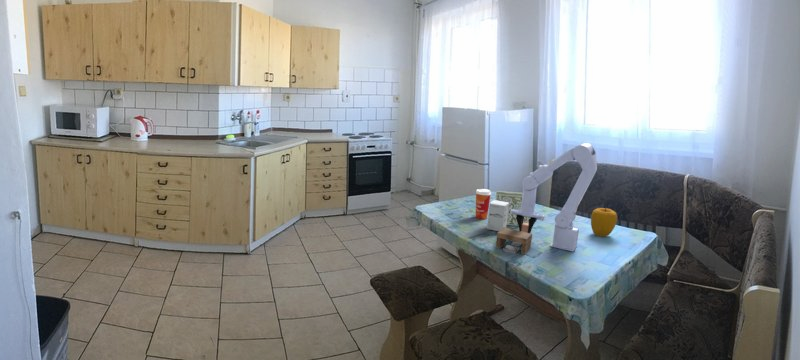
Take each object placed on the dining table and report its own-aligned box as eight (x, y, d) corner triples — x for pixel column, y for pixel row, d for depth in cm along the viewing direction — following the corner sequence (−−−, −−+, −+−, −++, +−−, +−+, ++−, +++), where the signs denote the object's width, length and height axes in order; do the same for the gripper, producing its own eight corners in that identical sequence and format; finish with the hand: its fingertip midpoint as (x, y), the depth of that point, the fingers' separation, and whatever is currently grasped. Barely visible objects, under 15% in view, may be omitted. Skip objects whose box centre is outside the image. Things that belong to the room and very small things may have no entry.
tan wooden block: (529, 236, 200) (530, 223, 198) (516, 248, 185) (517, 235, 183) (522, 235, 201) (524, 222, 200) (509, 247, 186) (510, 233, 185)
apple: (617, 240, 200) (621, 213, 197) (591, 238, 202) (595, 210, 199) (611, 232, 210) (615, 206, 207) (586, 230, 212) (590, 203, 209)
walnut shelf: (530, 248, 186) (532, 233, 185) (524, 254, 179) (526, 239, 178) (502, 241, 192) (503, 227, 191) (495, 247, 185) (497, 232, 184)
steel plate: (519, 250, 184) (519, 247, 184) (515, 254, 180) (515, 251, 180) (507, 247, 187) (507, 244, 187) (503, 251, 183) (503, 248, 182)
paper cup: (470, 216, 226) (472, 189, 222) (483, 214, 229) (485, 188, 226) (479, 220, 219) (481, 193, 216) (492, 219, 222) (494, 192, 219)
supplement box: (486, 229, 207) (488, 203, 204) (491, 225, 214) (493, 199, 211) (502, 232, 204) (505, 205, 201) (506, 228, 210) (509, 202, 207)
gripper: (547, 204, 195) (544, 233, 198) (514, 198, 202) (511, 226, 205) (543, 207, 189) (539, 238, 192) (509, 201, 196) (506, 230, 199)
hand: (524, 232), depth 198 cm, fingers closed on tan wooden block, 3 cm apart
